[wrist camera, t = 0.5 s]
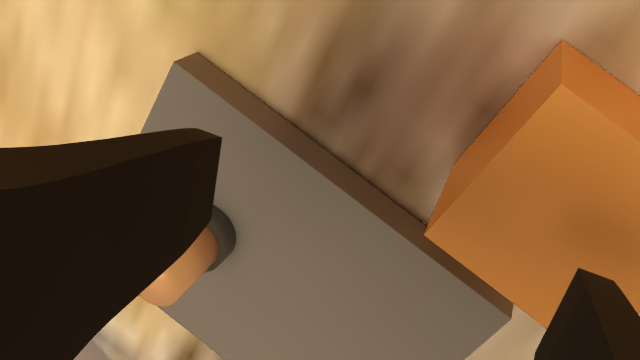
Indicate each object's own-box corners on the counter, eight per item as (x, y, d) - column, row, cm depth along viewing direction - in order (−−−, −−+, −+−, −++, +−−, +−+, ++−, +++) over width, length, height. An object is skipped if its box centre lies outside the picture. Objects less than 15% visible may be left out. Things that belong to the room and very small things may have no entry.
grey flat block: (514, 293, 21) (501, 393, 17) (360, 431, 26) (320, 534, 22) (197, 52, 21) (106, 88, 17) (108, 233, 27) (21, 295, 22)
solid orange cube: (707, 145, 17) (755, 226, 13) (578, 257, 19) (582, 355, 15) (562, 39, 17) (561, 84, 13) (454, 163, 20) (423, 235, 15)
